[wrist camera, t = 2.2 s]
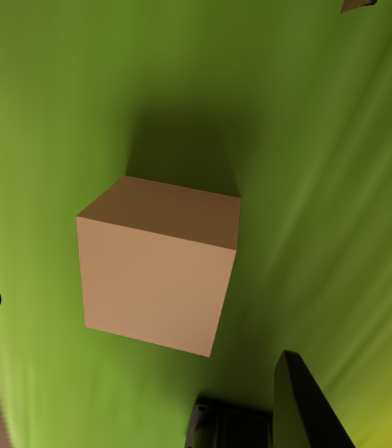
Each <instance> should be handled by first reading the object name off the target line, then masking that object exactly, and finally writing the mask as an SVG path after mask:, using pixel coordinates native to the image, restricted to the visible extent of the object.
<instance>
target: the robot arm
mask: <svg viewBox="0 0 392 448" xmlns="http://www.w3.org/2000/svg"><path fill="white" fill-rule="evenodd" d="M0 304H1V295H0ZM185 448H356V447H355V446H354V444H353V442H352V441H351V439H350V437H349V436H348V434H347V432H346V431H345V429H344V427H343V426H342V424H341V422H340V421H339V419H338V417H337V416H336V414H335V412H334V411H333V409H332V408H331V406H330V404H329V403H328V401H327V399H326V398H325V396H324V394H323V393H322V391H321V389H320V388H319V386H318V384H317V383H316V381H315V379H314V378H313V376H312V374H311V373H310V371H309V369H308V368H307V366H306V364H305V363H304V361H303V359H302V358H301V356H300V355H299V354H298V353H296V352H293V351H288V350H284V351H283V352H282V354H281V356H280V358H279V361H278V363H277V365H276V368H275V373H274V404H273V416H270V415H266V414H262V413H259V412H255V411H251V410H247V409H243V408H239V407H235V406H232V405H228V404H224V403H220V402H216V401H212V400H209V399H205V398H198V399H196V400H195V404H194V408H193V412H192V417H191V421H190V425H189V429H188V433H187V437H186V442H185Z"/></svg>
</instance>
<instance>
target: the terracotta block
mask: <svg viewBox="0 0 392 448" xmlns="http://www.w3.org/2000/svg"><path fill="white" fill-rule="evenodd" d="M240 208H241V198H238V197H233V196H228V195H223V194H218V193H213V192H208V191H203V190H197V189H192V188H187V187H182V186H177V185H172V184H167V183H162V182H157V181H152V180H147V179H142V178H137V177H132V176H126V175H125V176H123V177H122V178H121V179H120V180H119V181H117V182H116V183H115V184H114V185H113V186H111V187H110V188H109V189H108V190H107V191H105V192H104V193H103V194H102V195H101V196H99V197H98V198H97V199H96V200H95V201H93V202H92V203H91V204H90V205H89V206H87V207H86V208H85V209H84V210H83V211H81V212H80V213H79V214H78V215H77V216H76V224H77V235H78V247H79V259H80V270H81V282H82V294H83V305H84V317H85V327H89V328H93V329H97V330H101V331H105V332H109V333H113V334H117V335H121V336H125V337H129V338H133V339H137V340H141V341H145V342H149V343H153V344H157V345H161V346H166V347H170V348H174V349H178V350H182V351H186V352H190V353H194V354H198V355H202V356H206V357H210V354H211V350H212V346H213V342H214V338H215V334H216V330H217V326H218V322H219V318H220V314H221V310H222V306H223V302H224V298H225V294H226V290H227V286H228V283H229V279H230V275H231V271H232V267H233V263H234V259H235V255H236V251H237V241H238V230H239V219H240Z"/></svg>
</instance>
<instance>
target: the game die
mask: <svg viewBox="0 0 392 448" xmlns="http://www.w3.org/2000/svg"><path fill="white" fill-rule="evenodd" d="M376 2H377V0H345V2H344V4H343V7H342V10H341V13H343V12H346V11H349V10H351V9H354V8H357V7H361V6H368V5H374V4H375V3H376Z"/></svg>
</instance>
